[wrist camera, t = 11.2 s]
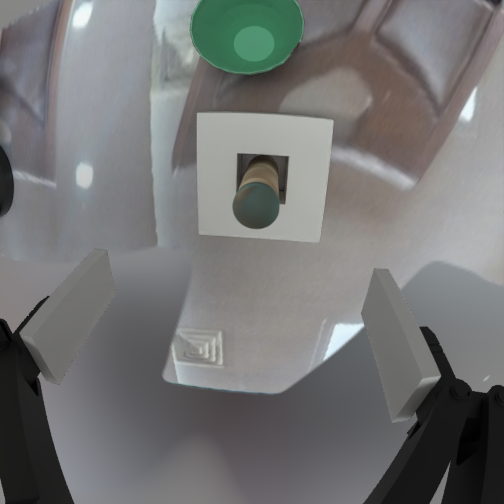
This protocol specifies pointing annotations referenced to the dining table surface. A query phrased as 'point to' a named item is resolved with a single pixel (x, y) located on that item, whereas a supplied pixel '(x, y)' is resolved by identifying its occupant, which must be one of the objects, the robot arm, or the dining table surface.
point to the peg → (258, 194)
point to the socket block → (269, 143)
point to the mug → (246, 33)
